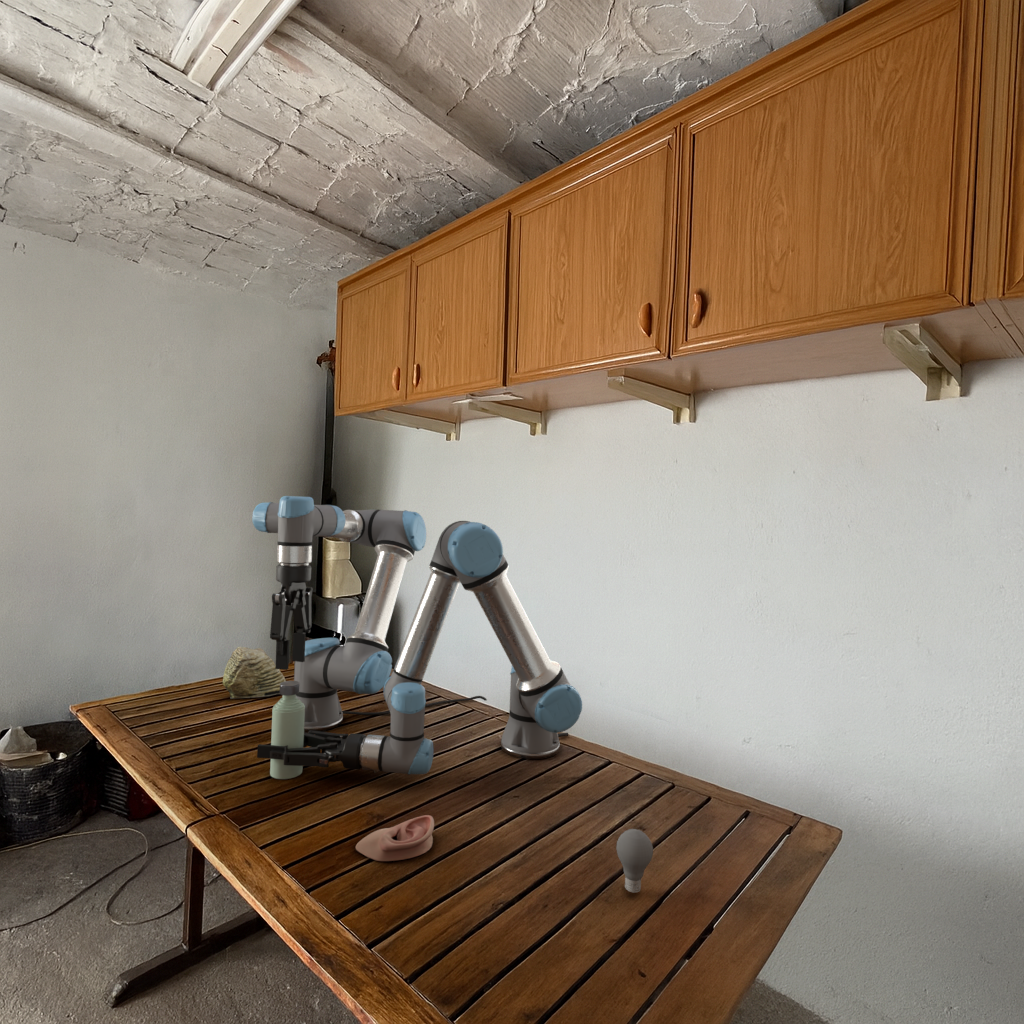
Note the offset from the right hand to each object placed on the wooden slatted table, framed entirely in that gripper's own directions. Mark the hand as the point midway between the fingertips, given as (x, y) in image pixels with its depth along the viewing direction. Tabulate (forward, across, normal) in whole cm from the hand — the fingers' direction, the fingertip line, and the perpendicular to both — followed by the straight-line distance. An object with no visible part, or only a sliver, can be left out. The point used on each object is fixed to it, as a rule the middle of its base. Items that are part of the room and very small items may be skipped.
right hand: (266, 744), depth 145 cm
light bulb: (-80, -33, -6) cm, 86 cm away
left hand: (-5, 0, +19) cm, 19 cm away
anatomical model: (-37, -26, -6) cm, 46 cm away
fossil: (+29, +51, -6) cm, 59 cm away
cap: (-5, 0, +14) cm, 15 cm away
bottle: (-5, 0, -6) cm, 8 cm away
